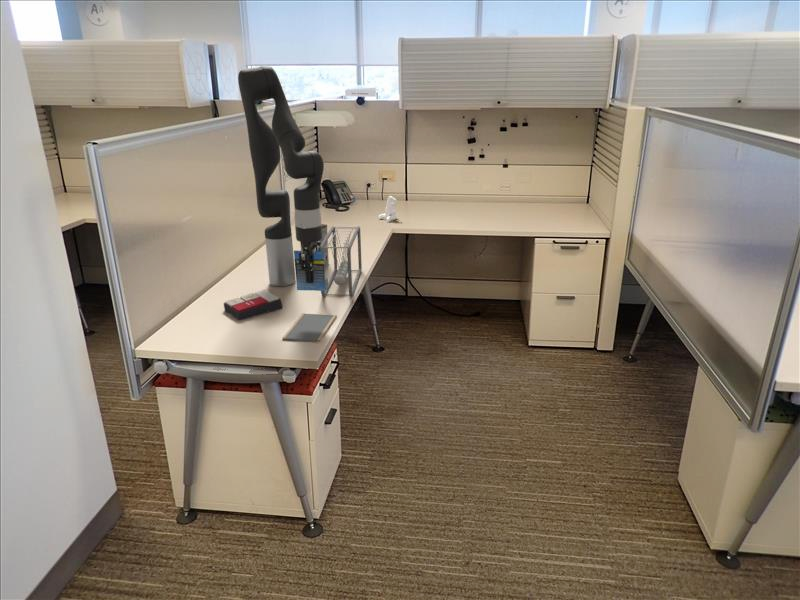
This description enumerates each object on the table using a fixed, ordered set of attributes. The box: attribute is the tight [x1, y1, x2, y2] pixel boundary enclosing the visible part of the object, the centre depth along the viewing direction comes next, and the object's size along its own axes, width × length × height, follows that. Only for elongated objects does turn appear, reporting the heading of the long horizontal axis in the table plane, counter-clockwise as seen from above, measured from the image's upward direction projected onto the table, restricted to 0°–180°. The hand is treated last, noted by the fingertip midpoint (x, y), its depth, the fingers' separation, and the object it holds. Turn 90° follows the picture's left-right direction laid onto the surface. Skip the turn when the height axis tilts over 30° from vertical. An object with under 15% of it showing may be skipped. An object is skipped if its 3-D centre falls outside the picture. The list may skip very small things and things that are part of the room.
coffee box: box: [300, 223, 330, 266], centre depth 223 cm, size 9×6×16 cm
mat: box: [282, 312, 337, 343], centre depth 170 cm, size 18×11×1 cm, turn 171°
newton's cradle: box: [320, 225, 363, 298], centre depth 203 cm, size 30×10×18 cm, turn 177°
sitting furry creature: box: [378, 195, 399, 223], centre depth 292 cm, size 10×9×12 cm
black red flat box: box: [223, 289, 283, 321], centre depth 184 cm, size 11×4×15 cm
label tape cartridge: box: [293, 250, 329, 292], centre depth 169 cm, size 9×4×12 cm, turn 83°
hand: (312, 279), depth 170 cm, fingers closed on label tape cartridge, 4 cm apart
